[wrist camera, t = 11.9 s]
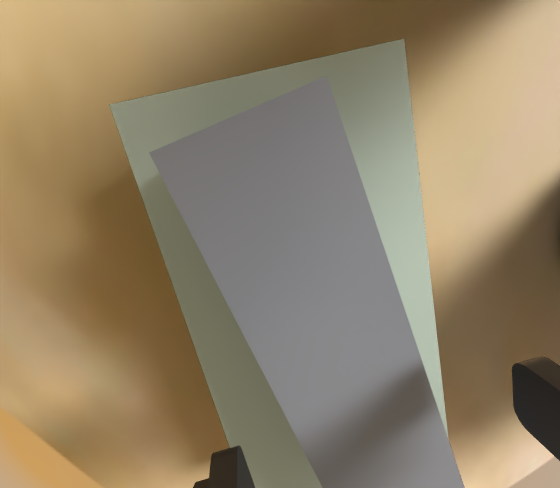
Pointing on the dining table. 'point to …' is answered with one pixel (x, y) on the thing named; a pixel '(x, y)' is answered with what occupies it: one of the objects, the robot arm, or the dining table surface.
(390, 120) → the sage shelf
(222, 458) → the robot arm
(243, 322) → the grey rectangular brick
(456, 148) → the dining table surface
